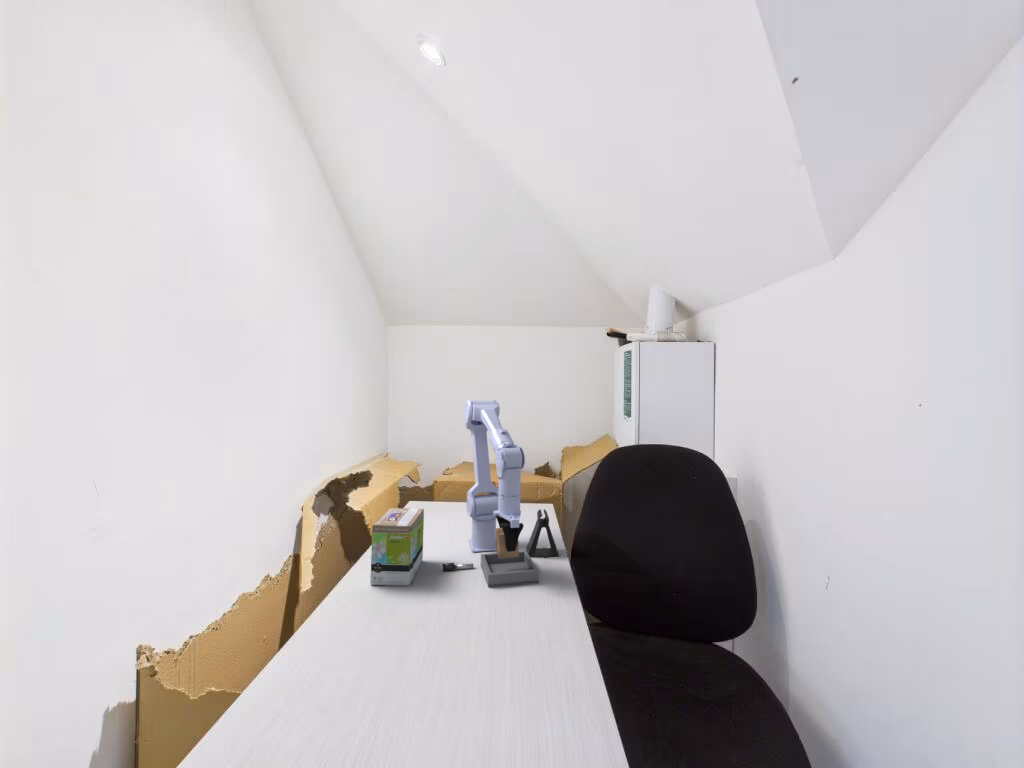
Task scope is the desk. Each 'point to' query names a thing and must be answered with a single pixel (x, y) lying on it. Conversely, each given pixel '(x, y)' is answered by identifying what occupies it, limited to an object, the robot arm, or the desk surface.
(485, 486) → the robot arm
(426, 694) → the desk surface
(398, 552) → the tea box
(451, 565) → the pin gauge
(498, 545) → the block
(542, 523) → the phone stand
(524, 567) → the tray
